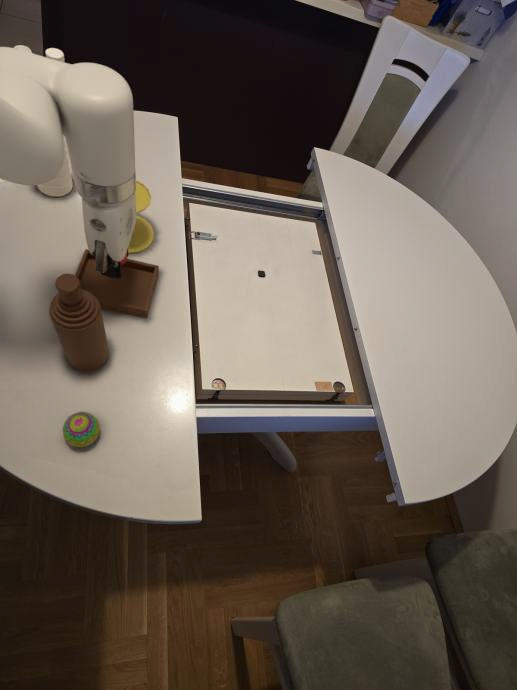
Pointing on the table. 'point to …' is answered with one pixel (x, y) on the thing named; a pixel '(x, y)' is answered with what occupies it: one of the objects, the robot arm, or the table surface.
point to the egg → (81, 429)
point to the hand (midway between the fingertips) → (115, 264)
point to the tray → (120, 285)
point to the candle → (141, 222)
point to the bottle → (79, 324)
